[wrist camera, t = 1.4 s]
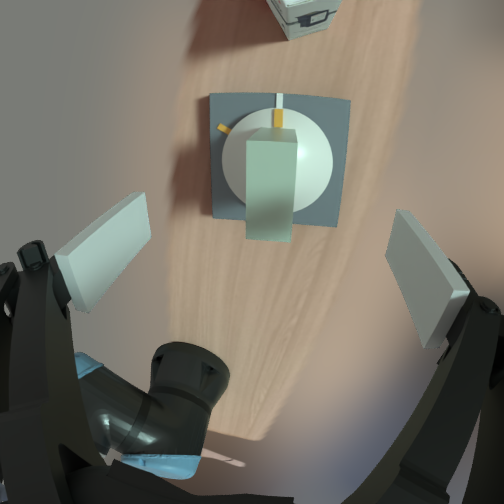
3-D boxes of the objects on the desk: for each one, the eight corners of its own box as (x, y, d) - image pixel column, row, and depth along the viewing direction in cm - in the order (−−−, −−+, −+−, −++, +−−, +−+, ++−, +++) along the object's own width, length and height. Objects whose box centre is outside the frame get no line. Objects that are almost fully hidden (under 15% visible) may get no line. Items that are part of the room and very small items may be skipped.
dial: (325, 214, 30) (339, 270, 21) (224, 207, 31) (195, 258, 22) (335, 112, 24) (361, 119, 15) (223, 107, 25) (186, 111, 16)
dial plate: (334, 220, 32) (337, 228, 31) (216, 211, 34) (212, 219, 32) (346, 100, 25) (351, 100, 23) (214, 93, 27) (209, 93, 25)
